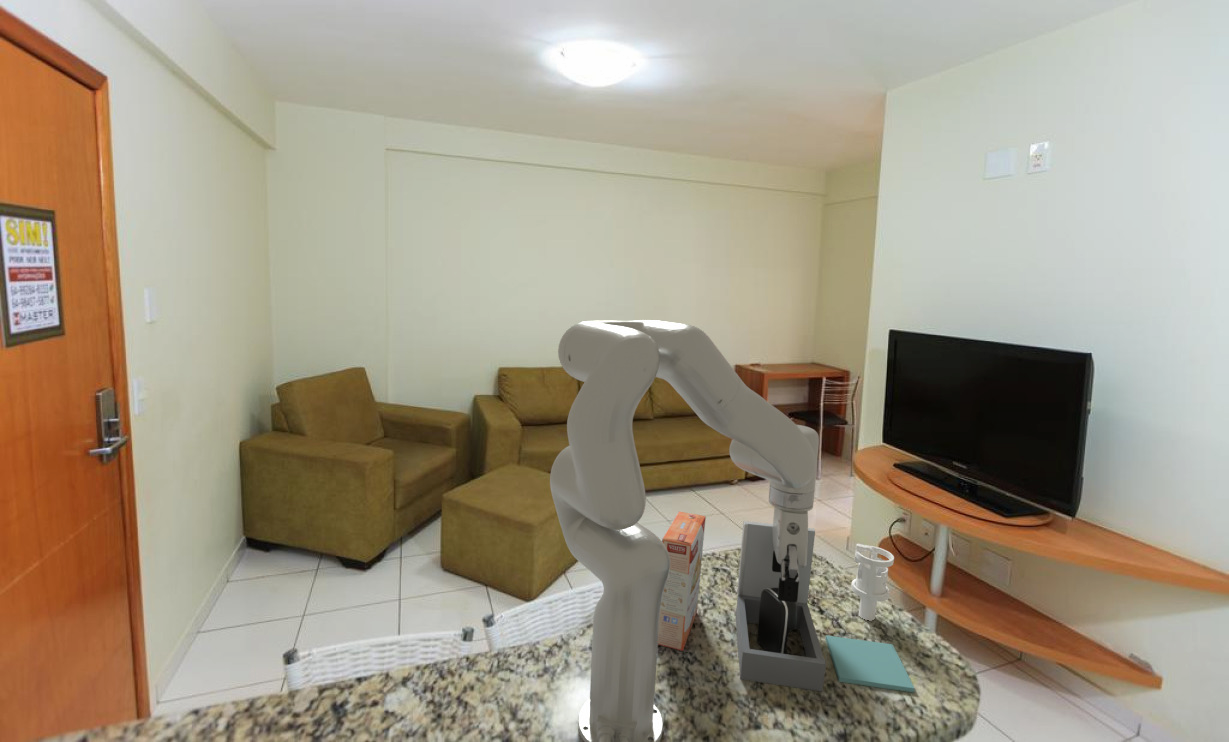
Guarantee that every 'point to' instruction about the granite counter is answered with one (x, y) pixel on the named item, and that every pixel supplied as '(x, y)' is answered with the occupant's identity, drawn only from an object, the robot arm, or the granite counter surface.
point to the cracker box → (681, 579)
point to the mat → (868, 663)
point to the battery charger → (775, 621)
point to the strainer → (871, 579)
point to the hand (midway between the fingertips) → (783, 585)
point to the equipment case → (750, 586)
